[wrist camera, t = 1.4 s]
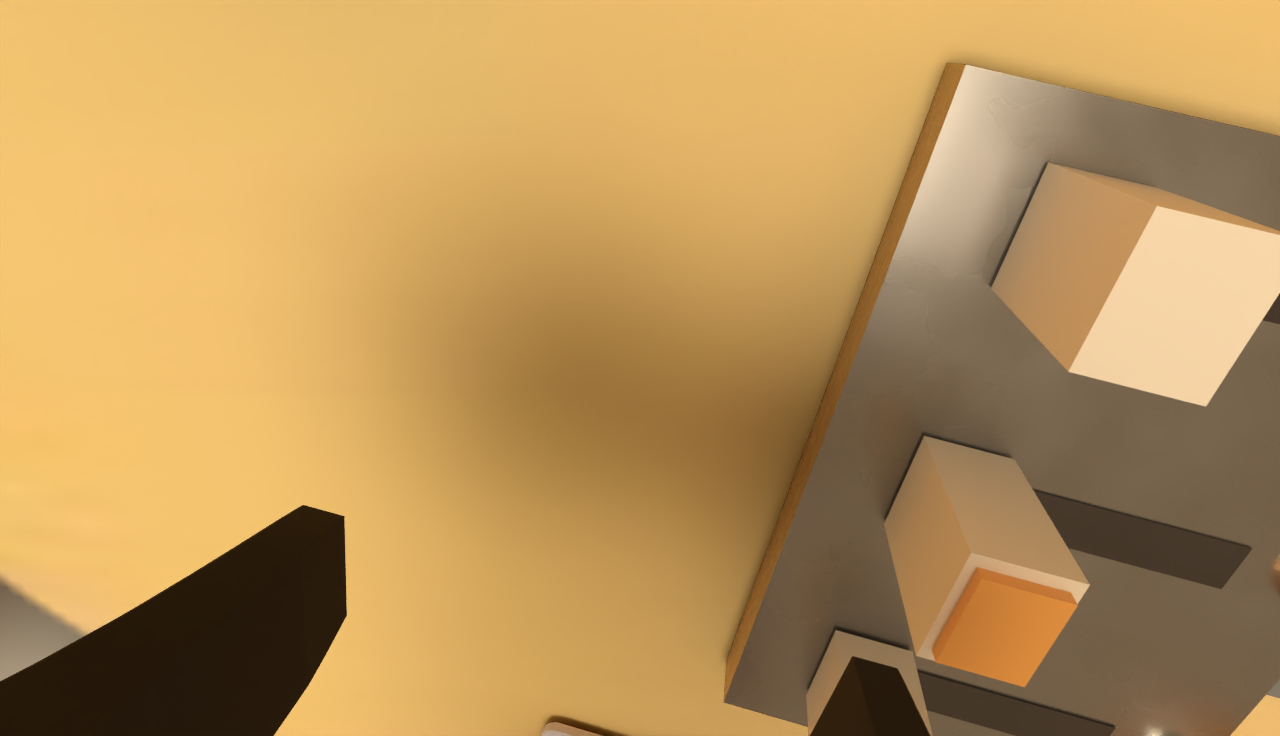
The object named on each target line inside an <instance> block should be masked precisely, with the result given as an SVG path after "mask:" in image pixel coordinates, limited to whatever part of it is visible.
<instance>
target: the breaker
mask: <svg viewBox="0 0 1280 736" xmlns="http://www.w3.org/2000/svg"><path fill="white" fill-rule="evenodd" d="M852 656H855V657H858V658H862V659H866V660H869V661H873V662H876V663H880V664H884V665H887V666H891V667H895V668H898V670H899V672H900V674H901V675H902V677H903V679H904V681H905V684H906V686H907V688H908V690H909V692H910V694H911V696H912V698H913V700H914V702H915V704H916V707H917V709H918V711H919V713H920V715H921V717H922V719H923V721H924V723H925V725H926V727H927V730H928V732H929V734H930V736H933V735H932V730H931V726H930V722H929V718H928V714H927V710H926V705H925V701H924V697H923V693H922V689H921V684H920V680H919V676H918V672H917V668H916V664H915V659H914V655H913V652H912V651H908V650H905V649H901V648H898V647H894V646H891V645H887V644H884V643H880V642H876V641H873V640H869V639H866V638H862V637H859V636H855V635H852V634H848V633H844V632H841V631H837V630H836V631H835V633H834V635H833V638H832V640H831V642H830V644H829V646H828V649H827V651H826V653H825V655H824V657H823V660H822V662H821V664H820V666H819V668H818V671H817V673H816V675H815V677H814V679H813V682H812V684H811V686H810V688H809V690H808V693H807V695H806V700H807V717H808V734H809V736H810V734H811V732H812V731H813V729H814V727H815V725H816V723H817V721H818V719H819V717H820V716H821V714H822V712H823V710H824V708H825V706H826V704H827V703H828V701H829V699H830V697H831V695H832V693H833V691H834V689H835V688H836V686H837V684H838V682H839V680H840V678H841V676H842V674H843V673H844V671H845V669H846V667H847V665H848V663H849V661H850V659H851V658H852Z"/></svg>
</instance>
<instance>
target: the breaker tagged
mask: <svg viewBox="0 0 1280 736" xmlns="http://www.w3.org/2000/svg"><path fill="white" fill-rule="evenodd" d="M884 526H885V530H886V535H887V539H888V543H889V547H890V551H891V555H892V559H893V563H894V567H895V572H896V576H897V580H898V584H899V588H900V592H901V596H902V600H903V604H904V608H905V613H906V617H907V621H908V625H909V629H910V633H911V637H912V641H913V645H914V650H915V654H916V656H918V657H922V658H925V659H929V660H933V661H935V662H936V663H940V664H944V665H947V666H951V667H954V668H958V669H961V670H965V671H968V672H972V673H975V674H979V675H983V676H986V677H990V678H993V679H997V680H1000V681H1004V682H1007V683H1011V684H1015V685H1018V686H1022V687H1025V686H1026V685H1027V683H1028V682H1029V680H1030V678H1031V677H1032V675H1033V674H1034V672H1035V671H1036V669H1037V668H1038V666H1039V665H1040V663H1041V662H1042V660H1043V658H1044V657H1045V655H1046V654H1047V652H1048V651H1049V649H1050V648H1051V646H1052V645H1053V643H1054V642H1055V640H1056V638H1057V637H1058V635H1059V634H1060V632H1061V631H1062V629H1063V628H1064V626H1065V625H1066V623H1067V622H1068V620H1069V619H1070V617H1071V615H1072V614H1073V612H1074V611H1075V609H1076V608H1077V606H1078V603H1079V601H1080V600H1081V598H1082V597H1083V595H1084V593H1085V592H1086V590H1087V589H1088V587H1089V586H1090V584H1089V582H1088V581H1087V579H1086V577H1085V576H1084V574H1083V572H1082V571H1081V569H1080V567H1079V566H1078V564H1077V562H1076V561H1075V559H1074V557H1073V556H1072V554H1071V552H1070V551H1069V549H1068V547H1067V546H1066V544H1065V542H1064V541H1063V539H1062V537H1061V536H1060V534H1059V532H1058V531H1057V529H1056V527H1055V526H1054V524H1053V522H1052V521H1051V519H1050V517H1049V516H1048V514H1047V512H1046V511H1045V509H1044V507H1043V506H1042V504H1041V502H1040V501H1039V499H1038V497H1037V496H1036V494H1035V492H1034V491H1033V489H1032V487H1031V486H1030V484H1029V482H1028V481H1027V479H1026V477H1025V476H1024V474H1023V472H1022V471H1021V469H1020V467H1019V466H1018V464H1017V462H1016V461H1015V459H1011V458H1007V457H1004V456H1000V455H996V454H992V453H988V452H984V451H981V450H977V449H973V448H969V447H965V446H962V445H958V444H954V443H950V442H946V441H942V440H939V439H935V438H931V437H927V436H924V437H923V439H922V441H921V444H920V446H919V448H918V450H917V453H916V455H915V457H914V459H913V461H912V464H911V466H910V468H909V470H908V472H907V475H906V477H905V479H904V481H903V483H902V486H901V488H900V490H899V492H898V494H897V497H896V499H895V501H894V503H893V505H892V508H891V510H890V512H889V514H888V516H887V519H886V521H885V523H884Z"/></svg>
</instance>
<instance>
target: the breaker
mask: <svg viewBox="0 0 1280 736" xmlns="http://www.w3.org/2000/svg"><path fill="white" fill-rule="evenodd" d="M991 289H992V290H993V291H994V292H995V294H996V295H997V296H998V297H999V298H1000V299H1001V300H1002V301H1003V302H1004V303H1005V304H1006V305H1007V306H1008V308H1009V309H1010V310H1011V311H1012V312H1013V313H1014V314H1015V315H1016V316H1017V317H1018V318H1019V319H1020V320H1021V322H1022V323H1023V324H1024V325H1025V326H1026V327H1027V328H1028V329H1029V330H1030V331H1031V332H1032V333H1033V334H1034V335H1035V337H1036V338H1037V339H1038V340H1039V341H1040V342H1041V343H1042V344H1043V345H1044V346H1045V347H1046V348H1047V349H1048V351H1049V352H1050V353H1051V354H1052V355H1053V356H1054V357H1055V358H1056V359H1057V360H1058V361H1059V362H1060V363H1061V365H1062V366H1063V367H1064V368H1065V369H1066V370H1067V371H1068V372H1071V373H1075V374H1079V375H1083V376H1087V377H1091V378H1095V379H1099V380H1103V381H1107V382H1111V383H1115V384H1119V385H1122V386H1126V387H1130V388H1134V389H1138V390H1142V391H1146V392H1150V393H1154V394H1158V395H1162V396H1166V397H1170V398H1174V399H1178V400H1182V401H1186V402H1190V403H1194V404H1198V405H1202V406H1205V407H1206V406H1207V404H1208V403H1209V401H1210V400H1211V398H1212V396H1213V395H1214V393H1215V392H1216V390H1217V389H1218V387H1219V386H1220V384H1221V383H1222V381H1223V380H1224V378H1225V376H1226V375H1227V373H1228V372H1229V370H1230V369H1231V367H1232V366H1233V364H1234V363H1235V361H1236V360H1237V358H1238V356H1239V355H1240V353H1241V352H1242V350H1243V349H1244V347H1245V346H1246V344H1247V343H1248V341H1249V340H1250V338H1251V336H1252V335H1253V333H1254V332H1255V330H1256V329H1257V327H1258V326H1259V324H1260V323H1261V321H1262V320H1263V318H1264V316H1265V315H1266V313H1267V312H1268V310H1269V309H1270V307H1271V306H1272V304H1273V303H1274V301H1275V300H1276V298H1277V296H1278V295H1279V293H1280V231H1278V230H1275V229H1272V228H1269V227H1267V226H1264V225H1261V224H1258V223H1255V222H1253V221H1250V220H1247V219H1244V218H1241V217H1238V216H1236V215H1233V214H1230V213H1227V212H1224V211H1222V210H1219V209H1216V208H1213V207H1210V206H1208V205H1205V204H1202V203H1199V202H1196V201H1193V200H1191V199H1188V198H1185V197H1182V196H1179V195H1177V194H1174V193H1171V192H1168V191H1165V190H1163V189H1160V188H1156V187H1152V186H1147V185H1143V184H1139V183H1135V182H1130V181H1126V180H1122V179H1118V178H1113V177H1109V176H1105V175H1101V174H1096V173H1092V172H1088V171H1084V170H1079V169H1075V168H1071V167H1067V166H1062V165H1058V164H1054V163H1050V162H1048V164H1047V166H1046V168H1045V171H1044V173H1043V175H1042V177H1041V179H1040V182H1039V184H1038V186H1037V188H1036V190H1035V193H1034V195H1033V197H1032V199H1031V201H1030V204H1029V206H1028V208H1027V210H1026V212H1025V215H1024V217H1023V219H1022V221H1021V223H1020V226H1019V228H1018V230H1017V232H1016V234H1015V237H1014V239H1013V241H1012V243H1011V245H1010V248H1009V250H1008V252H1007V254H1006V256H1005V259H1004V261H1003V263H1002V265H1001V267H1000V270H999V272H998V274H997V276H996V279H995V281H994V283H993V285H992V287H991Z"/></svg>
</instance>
